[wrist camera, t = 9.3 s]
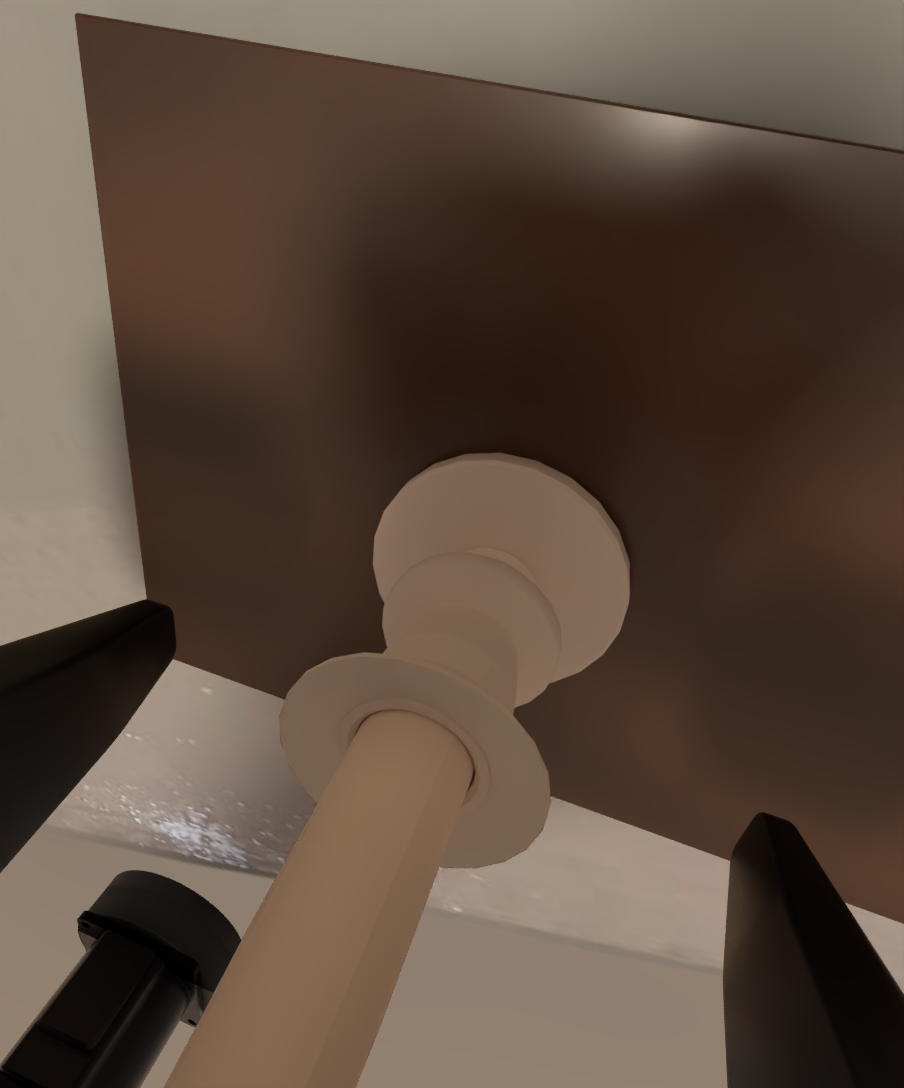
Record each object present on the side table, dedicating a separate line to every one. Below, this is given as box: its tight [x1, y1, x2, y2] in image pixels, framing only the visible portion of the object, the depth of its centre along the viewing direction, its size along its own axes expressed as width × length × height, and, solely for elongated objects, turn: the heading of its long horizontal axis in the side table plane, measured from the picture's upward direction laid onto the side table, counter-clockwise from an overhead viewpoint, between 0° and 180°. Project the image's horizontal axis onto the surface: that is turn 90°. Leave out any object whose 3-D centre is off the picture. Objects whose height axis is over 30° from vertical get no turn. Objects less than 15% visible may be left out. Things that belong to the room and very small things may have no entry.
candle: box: [164, 453, 630, 1088], centre depth 9 cm, size 5×5×10 cm
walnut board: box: [75, 13, 904, 924], centre depth 13 cm, size 14×20×1 cm
